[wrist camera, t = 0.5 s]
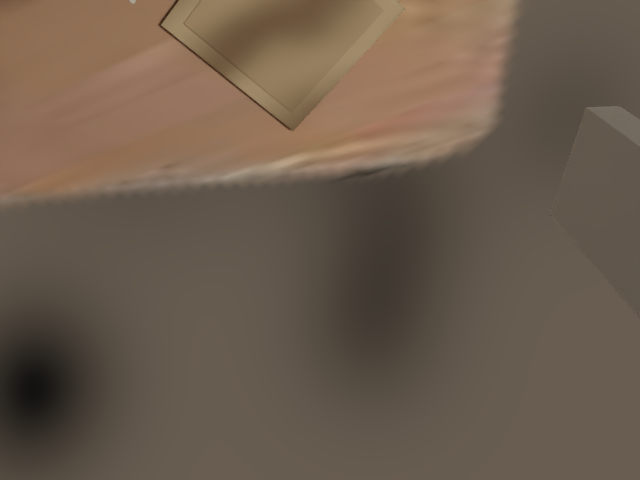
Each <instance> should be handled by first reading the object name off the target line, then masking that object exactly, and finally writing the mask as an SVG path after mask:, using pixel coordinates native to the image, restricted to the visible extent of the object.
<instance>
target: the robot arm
mask: <svg viewBox="0 0 640 480" xmlns="http://www.w3.org/2000/svg"><path fill="white" fill-rule="evenodd" d="M550 216H551V217H552V219H553V220H554V221H555V222H556V223H557V224H558V225H559V227H560V228H561V229H562V230H563V231H564V232H565V233H566V235H567V236H568V237H569V238H570V239H571V240H572V241H573V243H574V244H575V245H576V246H577V247H578V248H579V249H580V250H581V252H582V253H583V254H584V255H585V256H586V258H587V259H588V260H589V261H590V262H591V263H592V264H593V265H594V267H595V268H596V269H597V270H598V271H599V272H600V273H601V275H602V276H603V277H604V278H605V279H606V280H607V281H608V283H609V284H610V285H611V286H612V287H613V288H614V289H615V291H616V292H617V293H618V294H619V295H620V296H621V298H622V299H623V300H624V301H625V302H626V303H627V304H628V306H629V307H630V308H631V309H632V310H633V311H634V312H635V314H636V315H637V316H638V317H639V318H640V120H639V119H638V118H636V117H635V116H633V115H631V114H630V113H628V112H627V111H625V110H624V109H622V108H621V107H619V106H615V107H586V109H585V112H584V115H583V118H582V121H581V124H580V127H579V130H578V133H577V136H576V139H575V142H574V145H573V148H572V151H571V154H570V157H569V160H568V163H567V166H566V169H565V172H564V175H563V178H562V181H561V184H560V187H559V190H558V193H557V196H556V200H555V202H554V205H553V208H552V211H551V215H550Z"/></svg>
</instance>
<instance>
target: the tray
mask: <svg viewBox="0 0 640 480" xmlns="http://www.w3.org/2000/svg"><path fill="white" fill-rule="evenodd" d="M404 10H405V8H404V7H403V6H402V5H401V4H400V3H399V2H398V1H397V0H179V1H178V2H177V3H176V5H175V6H174V8H173V9H172V10H171V12H170V13H169V14H168V16H167V17H166V19H165V20H164V21H163V23H162V24H161V25H162V26H163V27H164V28H165V29H167V30H168V31H169V32H170V33H171V34H173V35H174V36H175V37H176V38H178V39H179V40H180V41H181V42H183V43H184V44H185V45H186V46H188V47H189V48H190V49H191V50H193V51H194V52H195V53H196V54H198V55H199V56H200V57H201V58H203V59H204V60H205V61H206V62H208V63H209V64H210V65H211V66H213V67H214V68H215V69H216V70H218V71H219V72H220V73H221V74H223V75H224V76H225V77H226V78H228V79H229V80H230V81H231V82H233V83H234V84H235V85H236V86H238V87H239V88H240V89H241V90H243V91H244V92H245V93H246V94H248V95H249V96H250V97H251V98H253V99H254V100H255V101H256V102H258V103H259V104H260V105H261V106H263V107H264V108H265V109H266V110H268V111H269V112H270V113H271V114H273V115H274V116H275V117H276V118H278V119H279V120H280V121H281V122H283V123H284V124H285V125H286V126H288V127H289V128H290V129H291V130H294V129H295V128H296V127H297V126H298V125H299V124H300V123H301V122H302V121H303V120H304V118H305V117H306V116H307V115H308V114H309V113H310V112H311V111H312V110H313V109H314V108H315V107H316V105H317V104H318V103H319V102H320V101H321V100H322V99H323V98H324V97H325V96H326V95H327V93H328V92H329V91H330V90H331V89H332V88H333V87H334V86H335V85H336V84H337V83H338V82H339V80H340V79H341V78H342V77H343V76H344V75H345V74H346V73H347V72H348V71H349V70H350V68H351V67H352V66H353V65H354V64H355V63H356V62H357V61H358V60H359V59H360V58H361V57H362V55H363V54H364V53H365V52H366V51H367V50H368V49H369V48H370V47H371V46H372V45H373V44H374V42H375V41H376V40H377V39H378V38H379V37H380V36H381V35H382V34H383V33H384V32H385V30H386V29H387V28H388V27H389V26H390V25H391V24H392V23H393V22H394V21H395V20H396V19H397V17H398V16H399V15H400V14H401V13H402V12H403V11H404Z"/></svg>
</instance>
